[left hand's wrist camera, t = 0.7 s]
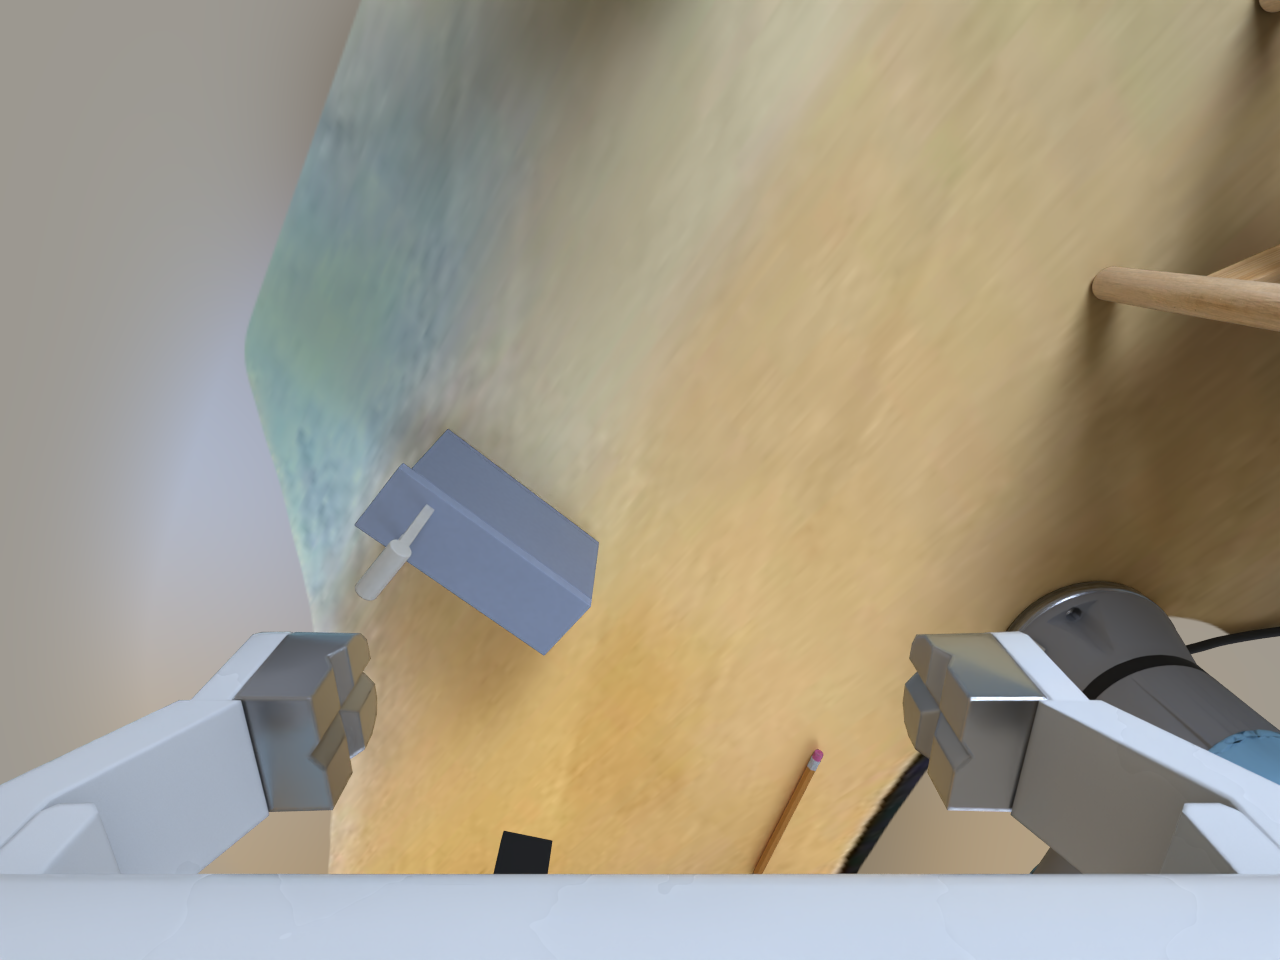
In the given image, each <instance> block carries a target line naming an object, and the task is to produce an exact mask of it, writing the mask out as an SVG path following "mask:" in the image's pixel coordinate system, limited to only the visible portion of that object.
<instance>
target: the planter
mask: <svg viewBox="0 0 1280 960" xmlns="http://www.w3.org/2000/svg"><path fill="white" fill-rule="evenodd" d="M1259 2H1260V5H1261V7H1262V8H1263V9H1264V10H1265V11H1267V12H1278V11H1280V0H1259ZM1092 290H1093V293H1094V295H1095V296H1096V297H1097V298H1098V299H1101V300H1105V301H1111V302H1117V303H1122V304H1128V305H1133V306H1139V307H1145V308H1150V309H1156V310H1161V311H1167V312H1172V313H1178V314H1184V315H1189V316H1195V317H1200V318H1206V319H1212V320H1217V321H1223V322H1228V323H1234V324H1239V325H1245V326H1251V327H1256V328H1262V329H1267V330H1273V331H1279V332H1280V244H1279V245H1277V246H1274V247H1272V248H1270V249H1268V250H1265V251H1263V252H1261V253H1258V254H1256V255H1254V256H1251V257H1249V258H1247V259H1244V260H1242V261H1240V262H1237V263H1235V264H1233V265H1230V266H1228V267H1226V268H1224V269H1221V270H1219V271H1217V272H1214V273H1212V274H1210V275H1207V276H1201V275H1191V274H1182V273H1172V272H1162V271H1153V270H1143V269H1134V268H1124V267H1114V266H1112V267H1107V268H1105V269H1103V270H1101V271H1100V272H1099V273H1098V274H1097V275H1096V277H1095V278H1094V281H1093V284H1092Z"/></svg>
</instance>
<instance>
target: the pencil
mask: <svg viewBox="0 0 1280 960" xmlns="http://www.w3.org/2000/svg"><path fill="white" fill-rule="evenodd" d="M822 757H823V752H822V751H820V750H818V749H817V750H815V751H814V753H813V755H812V757H811V759H810V761H809V763H808V765H807V767H806V769H805V771H804V773H803V775H802V777H801V779H800V781H799V783H798V785H797V787H796V789H795V791H794V793H793V795H792V797H791V799H790V801H789V803H788V805H787V807H786V809H785V811H784V813H783V815H782V817H781V818H780V820H779V822H778V824H777V826H776V828H775V830H774V832H773V834H772V836H771V838H770V840H769V842H768V844H767V846H766V848H765V850H764V852H763V854H762V856H761V858H760V860H759V862H758V864H757V866H756V868H755V870H754V872H753V874H762V873H763V871H764V869H765V867H766V865H767V864H768V862H769V860H770V858H771V856H772V854H773V852H774V850H775V848H776V846H777V844H778V842H779V840H780V838H781V836H782V834H783V832H784V831H785V829H786V827H787V825H788V823H789V821H790V819H791V817H792V815H793V813H794V811H795V809H796V807H797V805H798V803H799V801H800V800H801V798H802V796H803V794H804V792H805V790H806V788H807V786H808V784H809V782H810V780H811V778H812V776H813V774H814V772H815V771H816V769H817V767H818V765H819V764H820V762H821V759H822Z"/></svg>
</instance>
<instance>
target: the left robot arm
mask: <svg viewBox="0 0 1280 960" xmlns="http://www.w3.org/2000/svg"><path fill="white" fill-rule="evenodd" d="M370 659H371V658H370V653H369V648H368V643H367V639H366V638H365V637H364V636H363V635H362V634H361V633H317V632H295V633H293V632H260V633H257V634H253V635H252V636H251V637H250V638H249V639H248V640H247V641H246V642H245V643H244V644H243V645H242V646H241V647H240V648H239V650H238V651H237V652H236V653H235V654H234V655H233V656H232V657H231V658H230V659H229V660H228V661H227V662H226V663H225V664H224V665H223V666H222V667H221V668H220V670H219V671H218V672H217V673H216V674H215V675H214V676H213V677H212V678H211V679H210V680H209V681H208V682H207V683H206V684H205V685H204V686H203V687H202V689H201V690H200V691H199V692H198V693H197V694H196V695H195V696H194V697H193V698H192V699H191V700H178V701H177V702H174V703H172V704H170V705H168V706H166V707H164V708H162V709H159V710H157V711H155V712H153V713H151V714H149V715H147V716H145V717H143V718H140V719H138V720H136V721H134V722H132V723H130V724H128V725H126V726H124V727H121V728H119V729H117V730H115V731H113V732H111V733H109V734H107V735H105V736H102V737H100V738H98V739H96V740H94V741H92V742H90V743H88V744H86V745H83V746H82V747H79V748H77V749H75V750H73V751H71V752H69V753H67V754H64V755H62V756H60V757H58V758H56V759H54V760H52V761H50V762H48V763H46V764H43V765H41V766H39V767H37V768H35V769H33V770H31V771H29V772H26V773H24V774H22V775H20V776H18V777H16V778H14V779H12V780H10V781H7V782H6V783H3V784H1V785H0V960H1280V785H1278V784H1276V783H1274V782H1272V781H1270V780H1268V779H1266V778H1264V777H1262V776H1259V775H1257V774H1255V773H1253V772H1251V771H1249V770H1247V769H1245V768H1243V767H1240V766H1238V765H1236V764H1234V763H1232V762H1230V761H1228V760H1226V759H1224V758H1222V757H1219V756H1217V755H1215V754H1213V753H1211V752H1209V751H1207V750H1205V749H1203V748H1200V747H1198V746H1196V745H1194V744H1192V743H1190V742H1188V741H1186V740H1184V739H1182V738H1179V737H1177V736H1175V735H1173V734H1171V733H1169V732H1167V731H1165V730H1163V729H1160V728H1158V727H1156V726H1154V725H1152V724H1150V723H1148V722H1146V721H1144V720H1142V719H1139V718H1137V717H1135V716H1133V715H1131V714H1129V713H1127V712H1125V711H1123V710H1120V709H1118V708H1116V707H1114V706H1112V705H1110V704H1108V703H1106V702H1104V701H1102V700H1089V699H1088V698H1087V697H1086V696H1085V695H1084V694H1083V693H1082V692H1081V691H1080V690H1079V688H1078V687H1077V686H1076V685H1075V684H1074V683H1073V682H1072V681H1071V680H1070V679H1069V678H1068V677H1067V676H1066V675H1065V674H1064V673H1063V672H1062V671H1061V669H1060V668H1059V667H1058V666H1057V665H1056V664H1055V663H1054V662H1053V661H1052V660H1051V659H1050V658H1049V657H1048V656H1047V655H1046V654H1045V653H1044V652H1043V650H1042V649H1041V648H1040V647H1039V646H1038V645H1037V644H1036V643H1035V642H1034V641H1033V640H1032V639H1031V638H1030V637H1029V636H1028V635H1026V634H1024V633H1022V632H1019V631H1015V632H988V633H962V634H916V637H915V639H914V641H913V643H912V646H911V652H910V657H909V659H910V660H911V662H912V664H913V665H914V667H915V669H916V670H917V672H916V673H915V674H914V675H913V676H912V677H911V678H910V679H909V681H908V682H907V683H906V684H905V689H904V697H903V711H904V722H905V725H906V729H907V732H908V735H909V738H910V740H911V742H912V744H913V746H914V748H915V749H916V750H917V751H919V752H920V753H922V754H923V755H924V756H926V757H927V758H929V759H930V761H929V767H928V775H929V777H930V778H931V780H932V782H933V784H934V786H935V788H936V790H937V792H938V793H939V795H940V797H941V799H942V801H943V803H944V805H945V807H946V808H947V810H964V811H999V812H1011V815H1012V816H1013V817H1014V818H1015V819H1016V820H1018V821H1019V822H1020V823H1021V824H1023V825H1024V826H1025V827H1026V828H1027V829H1029V830H1030V831H1031V832H1032V833H1034V834H1035V835H1036V836H1037V837H1038V838H1040V839H1041V840H1042V841H1043V842H1045V843H1046V844H1047V845H1048V846H1050V847H1051V848H1052V849H1053V850H1054V851H1056V852H1057V853H1058V854H1059V855H1061V856H1062V857H1063V858H1064V859H1065V860H1067V861H1068V862H1069V863H1070V864H1072V865H1073V866H1074V867H1075V868H1076V869H1078V870H1079V871H1080V872H1081V873H1083V874H198V873H199V872H200V871H201V870H203V869H204V868H205V867H206V866H207V865H209V864H210V863H211V862H212V861H214V860H215V859H216V858H217V857H218V856H220V855H221V854H222V853H223V852H225V851H226V850H227V849H228V848H230V847H231V846H232V845H233V844H234V843H236V842H237V841H238V840H239V839H240V838H242V837H243V836H244V835H245V834H247V833H248V832H249V831H250V830H252V829H253V828H254V827H255V826H256V825H258V824H259V823H260V822H261V821H263V820H264V819H265V818H266V817H268V816H269V812H280V811H314V810H333V809H334V807H335V805H336V803H337V801H338V799H339V797H340V795H341V794H342V792H343V790H344V788H345V786H346V784H347V782H348V780H349V778H350V777H351V775H352V767H351V761H350V759H351V758H353V757H354V756H356V755H357V754H358V753H360V752H361V751H363V750H364V749H365V748H366V746H367V744H368V742H369V740H370V738H371V735H372V733H373V728H374V724H375V720H376V715H377V695H376V688H375V684H374V683H373V682H372V681H371V679H370V678H369V677H368V676H367V675H366V674H365V673H364V672H363V670H364V669H365V667H366V665H367V664H368V662H369V660H370Z"/></svg>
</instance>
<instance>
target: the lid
mask: <svg viewBox="0 0 1280 960" xmlns="http://www.w3.org/2000/svg"><path fill="white" fill-rule="evenodd" d="M355 526H356V527H358V528H359V529H360V530H362V531H363V532H365V533H366V534H368V535H369V536H371V537H372V538H374V539H375V540H376V541H378V542H379V543H381V544H382V545H384V546H385V547H386V548H385V549H384V550H383V551H382V553H381V554H380V555H379V556H378V558H377V559H376V560H375V561H374V563H373V564H372V565H371V566H370V568H369V569H368V570H367V571H366V573H365V574H364V575H363V576H362V578H361V579H360V580H359V581H358V583H357V584H356V586H355V590H356V593H357V594H358V595H359V596H360V597H361V598H363V599H365V600H374V599H376V598H377V596H378V595H379V594H380V593H381V591H382V590H383V589H384V588H385V587H386V585H387V584H388V583H389V582H390V580H391V579H392V578H393V577H394V576H395V574H396V573H397V572H398V571H399V569H400V568H401V567H402V566H403V565H404V563H405V562H406V561H407V562H409V563H410V564H411V565H413V566H414V567H416V568H417V569H419V570H420V571H422V572H423V573H425V574H426V575H427V576H429V577H430V578H432V579H433V580H435V581H436V582H438V583H439V584H441V585H442V586H443V587H445V588H446V589H448V590H449V591H451V592H452V593H454V594H455V595H457V596H458V597H459V598H461V599H462V600H464V601H465V602H467V603H468V604H470V605H471V606H473V607H474V608H475V609H477V610H478V611H480V612H481V613H483V614H484V615H486V616H487V617H489V618H490V619H491V620H493V621H494V622H496V623H497V624H499V625H500V626H502V627H503V628H505V629H506V630H507V631H509V632H510V633H512V634H513V635H515V636H516V637H518V638H519V639H521V640H522V641H523V642H525V643H526V644H528V645H529V646H531V647H532V648H534V649H535V650H537V651H538V652H539V653H541V654H542V655H545V654H546V653H547V652H548V651H549V650H550V649H551V648H552V647H553V646H554V645H555V644H556V643H557V642H558V641H559V639H560V638H561V637H562V636H563V635H564V634H565V633H566V632H567V631H568V630H569V629H570V628H571V627H572V626H573V625H574V624H575V623H576V622H577V621H578V619H579V618H580V617H581V616H582V615H583V614H584V613H585V612H586V611H587V610H588V609H589V608H590V607H591V601H592V600H591V599H590V598H589V597H587V596H586V595H584V594H583V593H582V592H580V591H579V590H578V589H576V588H575V587H573V586H572V585H571V584H569V583H568V582H566V581H565V580H564V579H562V578H561V577H560V576H558V575H557V574H555V573H554V572H553V571H551V570H550V569H549V568H547V567H546V566H544V565H543V564H542V563H540V562H539V561H538V560H536V559H535V558H533V557H532V556H531V555H529V554H528V553H527V552H525V551H524V550H522V549H521V548H520V547H518V546H517V545H516V544H514V543H513V542H511V541H510V540H509V539H507V538H506V537H504V536H503V535H502V534H500V533H499V532H498V531H496V530H495V529H493V528H492V527H491V526H489V525H488V524H487V523H485V522H484V521H482V520H481V519H480V518H478V517H477V516H476V515H474V514H473V513H471V512H470V511H469V510H467V509H466V508H465V507H463V506H462V505H460V504H459V503H458V502H456V501H455V500H453V499H452V498H451V497H449V496H448V495H447V494H445V493H444V492H442V491H441V490H440V489H438V488H437V487H436V486H434V485H433V484H431V483H430V482H429V481H427V480H426V479H425V478H423V477H422V476H420V475H419V474H418V473H416V472H415V471H414V470H412V469H411V468H409V467H408V466H407V465H405V464H404V463H403V464H402V465H401V466H400V467H399V468H398V469H397V470H396V472H395V473H394V474H393V475H392V477H391V478H390V479H389V481H388V482H387V483H386V485H385V486H384V487H383V488H382V490H381V491H380V492H379V494H378V495H377V496H376V498H375V499H374V500H373V501H372V503H371V504H370V505H369V507H368V508H367V509H366V511H365V512H364V513H363V514H362V516H361V517H360V518H359V520H358V521H357V522H356V523H355Z"/></svg>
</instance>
